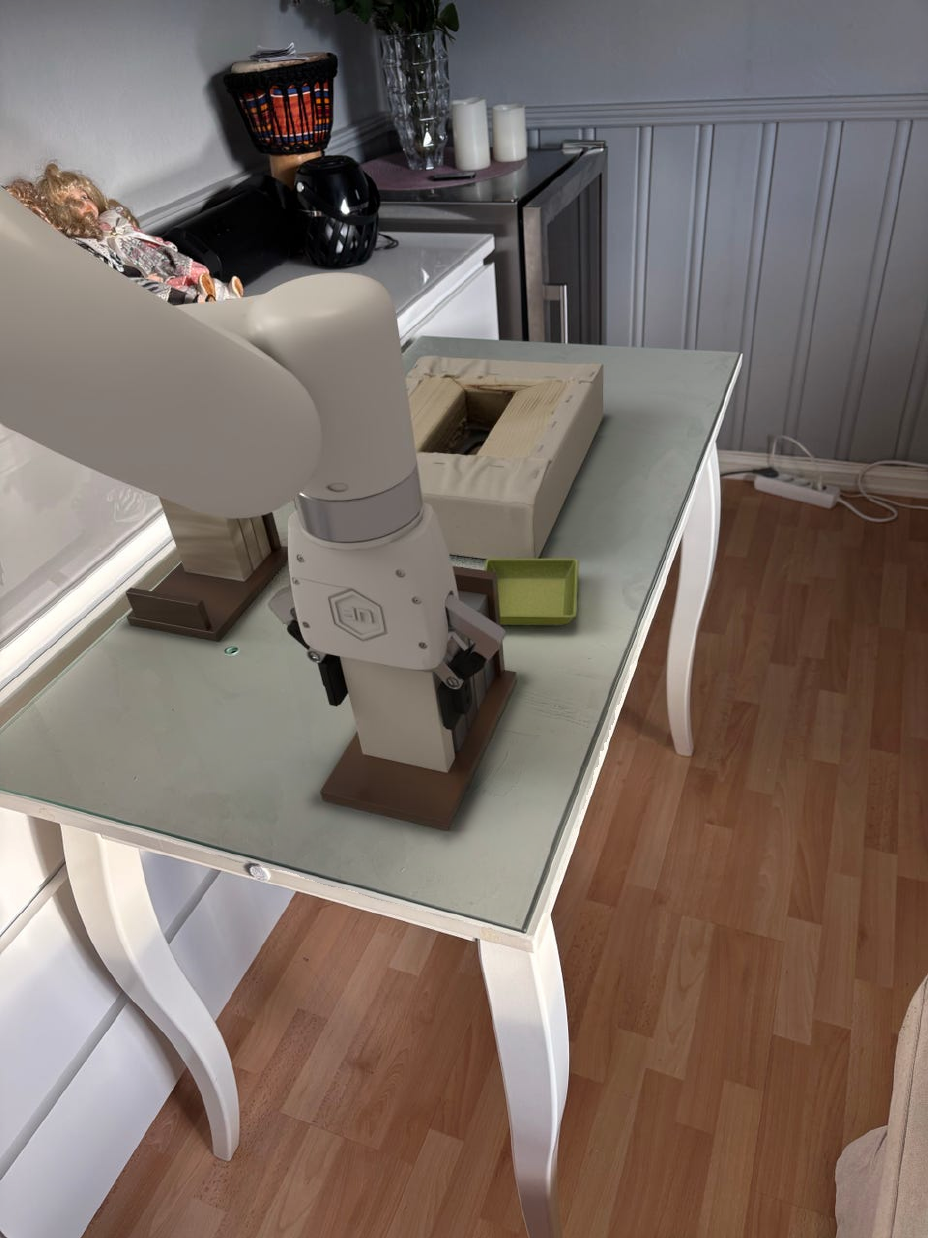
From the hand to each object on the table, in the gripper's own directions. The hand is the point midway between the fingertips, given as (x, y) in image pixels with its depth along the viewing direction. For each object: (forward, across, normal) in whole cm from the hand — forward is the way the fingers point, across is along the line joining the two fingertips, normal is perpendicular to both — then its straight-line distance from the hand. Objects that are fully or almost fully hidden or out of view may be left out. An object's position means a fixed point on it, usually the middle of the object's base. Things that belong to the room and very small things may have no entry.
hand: (398, 703), depth 65 cm
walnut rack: (+7, 0, +3) cm, 7 cm away
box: (+7, -10, +42) cm, 44 cm away
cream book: (+6, 0, 0) cm, 6 cm away
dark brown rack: (+7, -28, +16) cm, 33 cm away
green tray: (+7, +3, +21) cm, 22 cm away
